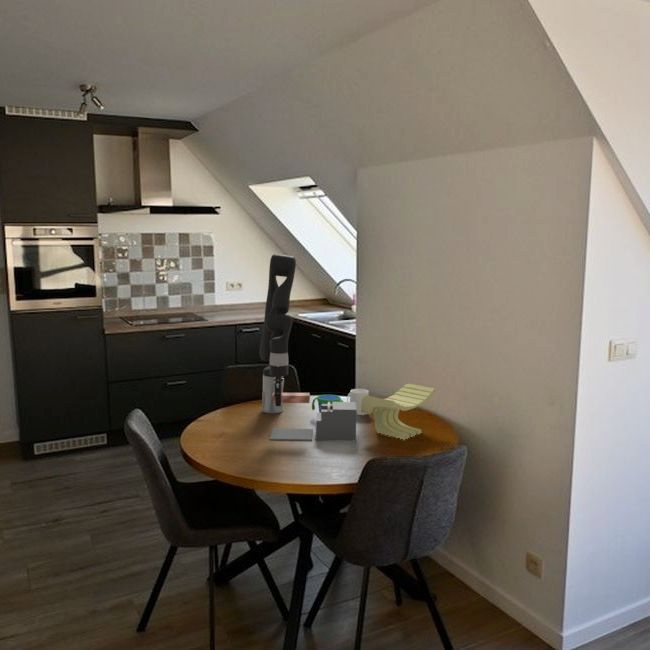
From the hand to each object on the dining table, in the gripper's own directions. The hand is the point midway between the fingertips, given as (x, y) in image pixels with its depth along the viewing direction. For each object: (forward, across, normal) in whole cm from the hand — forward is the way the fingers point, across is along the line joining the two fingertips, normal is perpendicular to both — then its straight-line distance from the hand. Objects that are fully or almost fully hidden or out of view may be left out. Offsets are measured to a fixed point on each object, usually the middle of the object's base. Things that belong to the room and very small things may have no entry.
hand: (278, 404), depth 261 cm
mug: (+13, -36, +34) cm, 51 cm away
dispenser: (+13, 0, +24) cm, 27 cm away
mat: (+13, 0, +6) cm, 14 cm away
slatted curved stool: (+13, -6, +50) cm, 52 cm away
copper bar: (-1, 0, +5) cm, 5 cm away
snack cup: (+13, -24, +20) cm, 34 cm away
